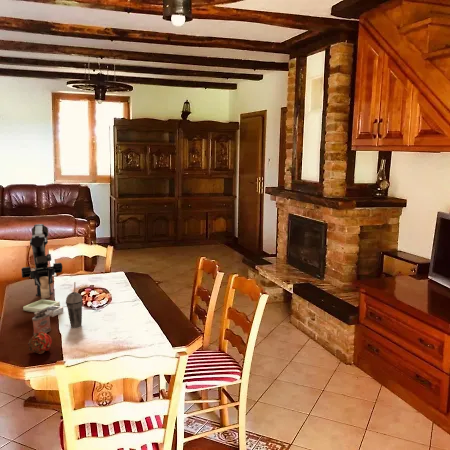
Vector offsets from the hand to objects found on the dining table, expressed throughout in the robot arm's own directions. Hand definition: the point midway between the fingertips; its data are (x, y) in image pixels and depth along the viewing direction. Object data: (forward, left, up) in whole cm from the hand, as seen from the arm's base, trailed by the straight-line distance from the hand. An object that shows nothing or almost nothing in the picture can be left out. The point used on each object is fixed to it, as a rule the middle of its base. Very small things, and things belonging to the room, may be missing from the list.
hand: (44, 284), depth 234 cm
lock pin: (-1, -1, -7) cm, 7 cm away
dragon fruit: (+37, +32, -13) cm, 51 cm away
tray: (-2, -6, -13) cm, 14 cm away
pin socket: (+2, +5, -13) cm, 14 cm away
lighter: (+22, +18, -13) cm, 31 cm away
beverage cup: (+11, +27, -13) cm, 32 cm away
